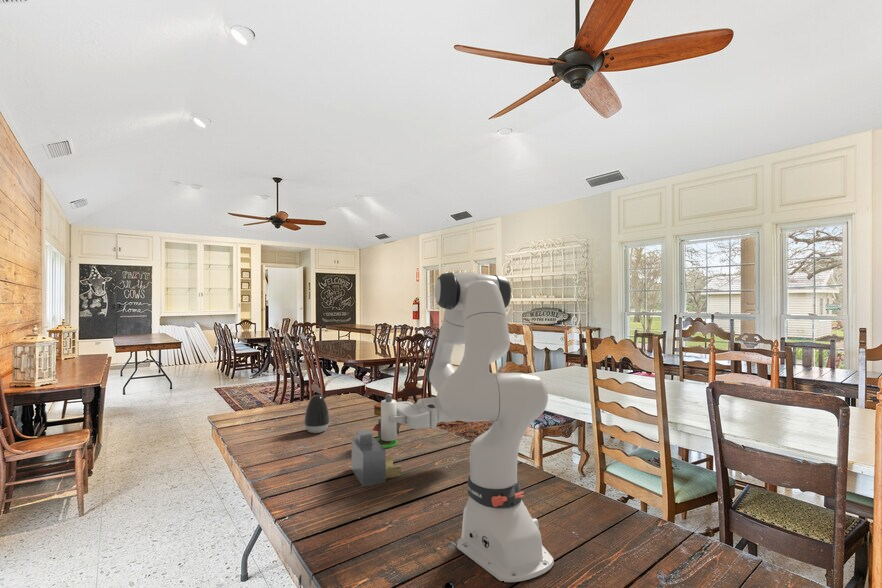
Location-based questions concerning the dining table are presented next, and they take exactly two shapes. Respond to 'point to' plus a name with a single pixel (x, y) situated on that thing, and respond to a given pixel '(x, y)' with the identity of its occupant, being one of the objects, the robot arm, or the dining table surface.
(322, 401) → the dark grey egg shape
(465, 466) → the dining table surface
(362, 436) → the motor
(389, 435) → the white bottle
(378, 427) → the mushroom figurine
